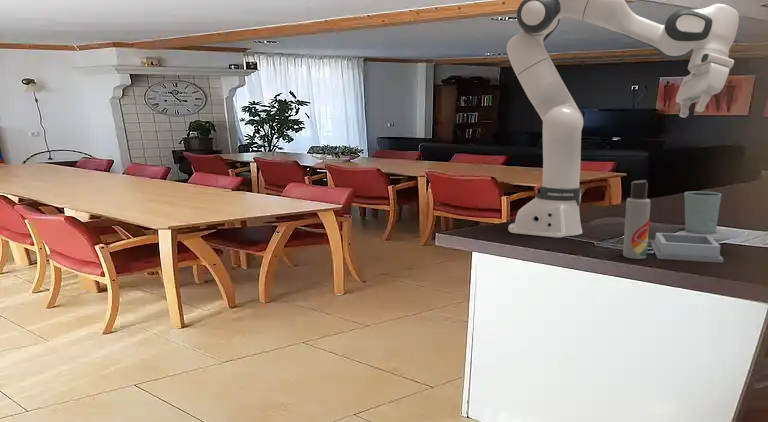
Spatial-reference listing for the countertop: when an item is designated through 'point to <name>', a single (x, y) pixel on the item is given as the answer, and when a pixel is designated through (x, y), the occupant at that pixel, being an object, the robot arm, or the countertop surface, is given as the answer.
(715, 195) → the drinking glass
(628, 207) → the lotion bottle
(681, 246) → the shallow soap dish
